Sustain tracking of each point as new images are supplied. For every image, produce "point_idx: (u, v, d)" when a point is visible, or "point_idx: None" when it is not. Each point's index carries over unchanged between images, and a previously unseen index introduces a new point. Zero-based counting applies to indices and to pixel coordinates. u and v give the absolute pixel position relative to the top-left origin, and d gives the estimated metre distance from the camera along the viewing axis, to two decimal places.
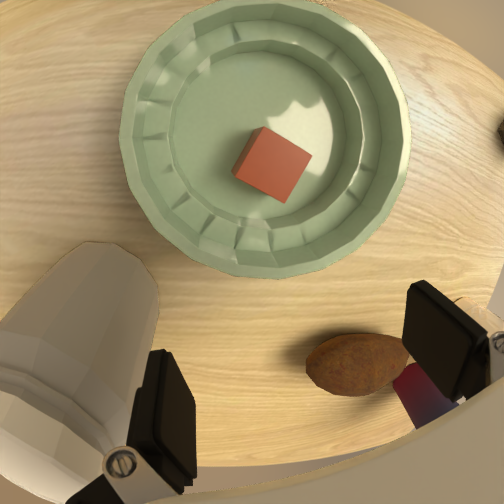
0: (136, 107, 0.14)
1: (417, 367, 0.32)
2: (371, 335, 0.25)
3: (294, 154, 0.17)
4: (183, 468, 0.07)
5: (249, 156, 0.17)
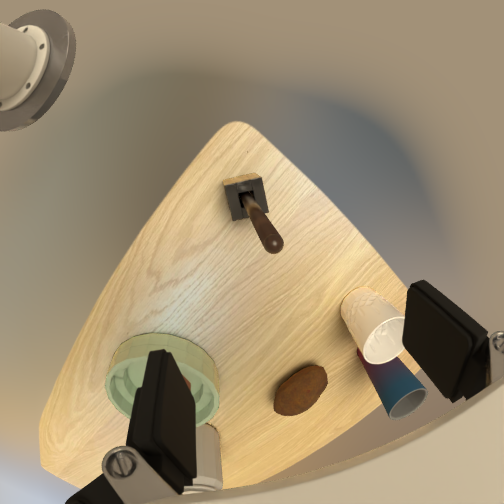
0: None
1: None
2: (289, 381, 0.44)
3: None
4: (183, 468, 0.07)
5: None
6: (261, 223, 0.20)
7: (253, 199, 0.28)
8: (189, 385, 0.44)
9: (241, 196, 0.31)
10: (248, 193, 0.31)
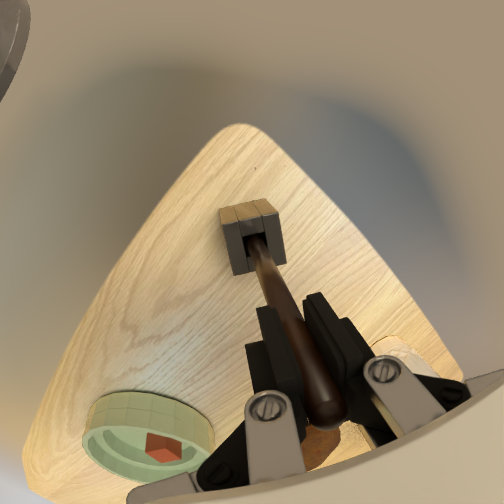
0: (120, 473, 0.30)
1: None
2: None
3: (161, 451, 0.30)
4: (304, 412, 0.08)
5: (155, 458, 0.31)
6: (298, 347, 0.10)
7: (267, 253, 0.18)
8: (180, 442, 0.34)
9: (247, 240, 0.21)
10: (257, 236, 0.21)
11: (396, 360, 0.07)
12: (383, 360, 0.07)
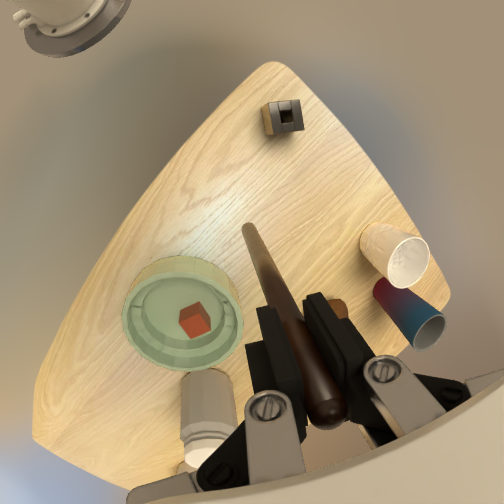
0: (149, 355, 0.42)
1: (379, 284, 0.48)
2: None
3: (194, 319, 0.42)
4: (304, 412, 0.08)
5: (186, 332, 0.43)
6: (297, 347, 0.10)
7: (268, 255, 0.18)
8: (209, 318, 0.45)
9: (247, 242, 0.21)
10: (258, 238, 0.21)
11: (396, 361, 0.07)
12: (383, 360, 0.07)
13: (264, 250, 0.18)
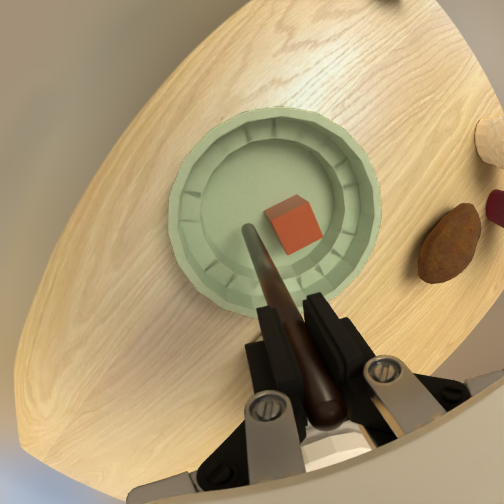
0: (212, 289, 0.24)
1: (493, 196, 0.31)
2: (441, 224, 0.29)
3: (300, 213, 0.24)
4: (304, 412, 0.08)
5: (283, 240, 0.25)
6: (297, 348, 0.10)
7: (268, 256, 0.18)
8: None
9: (247, 243, 0.21)
10: (258, 238, 0.21)
11: (396, 360, 0.07)
12: (383, 361, 0.07)
13: (264, 251, 0.18)
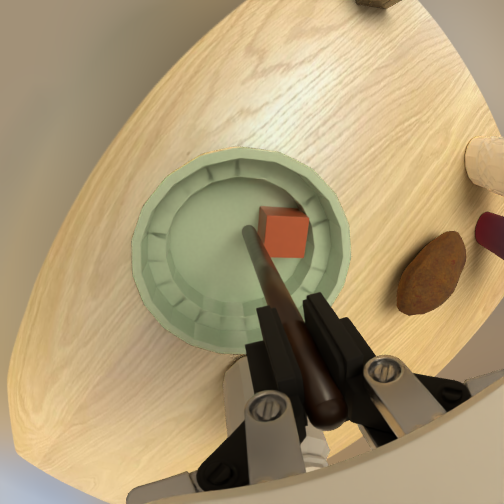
0: (178, 327, 0.24)
1: (483, 220, 0.31)
2: (422, 254, 0.29)
3: (296, 223, 0.24)
4: (304, 412, 0.08)
5: (267, 240, 0.24)
6: (298, 348, 0.10)
7: (268, 257, 0.18)
8: None
9: (248, 244, 0.21)
10: (258, 240, 0.21)
11: (396, 360, 0.07)
12: (383, 360, 0.07)
13: (265, 252, 0.19)
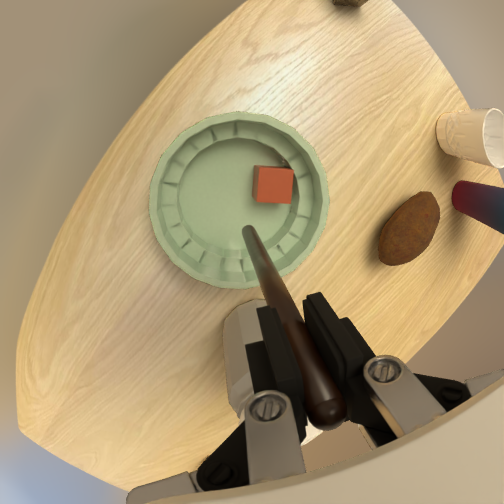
0: (184, 261, 0.29)
1: (458, 186, 0.36)
2: (398, 210, 0.34)
3: (283, 174, 0.29)
4: (304, 412, 0.08)
5: (259, 187, 0.29)
6: (298, 347, 0.10)
7: (268, 257, 0.18)
8: None
9: (247, 244, 0.21)
10: (258, 240, 0.21)
11: (396, 361, 0.07)
12: (383, 360, 0.07)
13: (264, 252, 0.19)
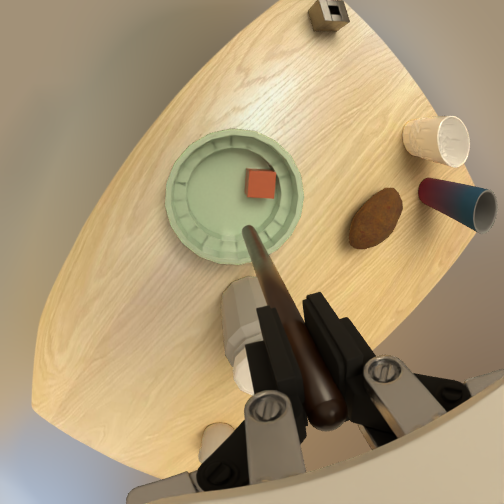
0: (192, 243, 0.38)
1: (424, 183, 0.44)
2: (365, 203, 0.42)
3: (268, 175, 0.38)
4: (304, 412, 0.08)
5: (249, 186, 0.38)
6: (298, 348, 0.10)
7: (268, 257, 0.18)
8: None
9: (247, 244, 0.21)
10: (258, 240, 0.21)
11: (396, 360, 0.07)
12: (383, 361, 0.07)
13: (264, 252, 0.19)
